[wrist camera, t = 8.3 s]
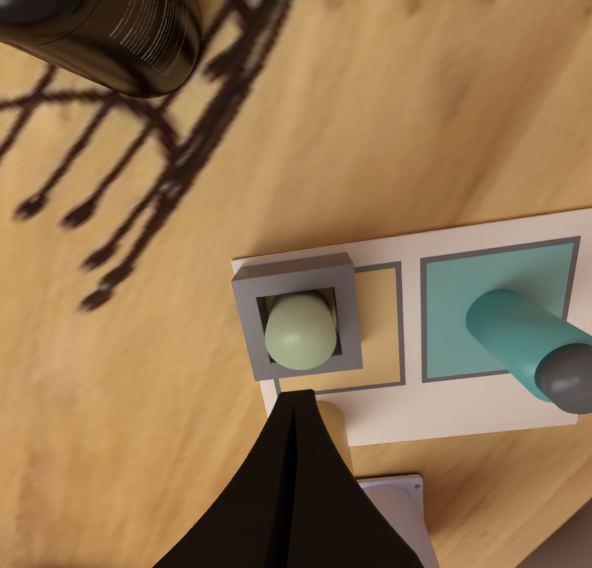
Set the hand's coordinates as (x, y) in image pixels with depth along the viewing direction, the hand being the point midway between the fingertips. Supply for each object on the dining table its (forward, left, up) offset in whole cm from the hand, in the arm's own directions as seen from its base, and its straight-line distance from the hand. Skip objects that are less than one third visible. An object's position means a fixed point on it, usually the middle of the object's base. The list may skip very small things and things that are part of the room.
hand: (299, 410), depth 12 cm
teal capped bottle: (-3, -13, -10) cm, 16 cm away
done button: (0, 0, -9) cm, 9 cm away
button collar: (0, 0, -10) cm, 10 cm away
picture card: (-5, -8, -10) cm, 13 cm away
